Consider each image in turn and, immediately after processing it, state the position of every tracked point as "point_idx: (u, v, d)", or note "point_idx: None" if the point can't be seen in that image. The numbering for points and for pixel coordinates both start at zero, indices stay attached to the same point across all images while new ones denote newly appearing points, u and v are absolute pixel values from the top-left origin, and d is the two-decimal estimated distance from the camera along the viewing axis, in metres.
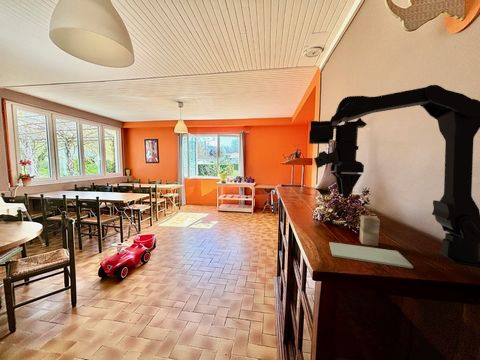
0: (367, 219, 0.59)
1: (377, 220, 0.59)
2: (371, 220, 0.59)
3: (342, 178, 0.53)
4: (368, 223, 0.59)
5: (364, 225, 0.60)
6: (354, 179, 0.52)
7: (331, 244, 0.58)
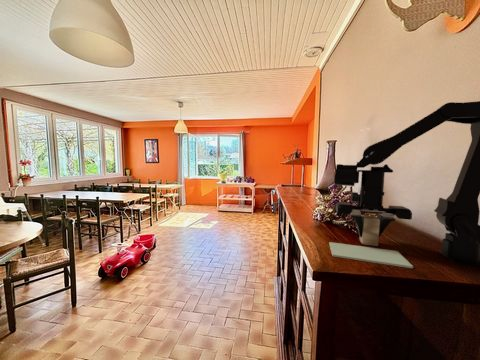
0: (367, 219, 0.59)
1: (377, 220, 0.59)
2: (371, 220, 0.59)
3: None
4: (368, 223, 0.59)
5: (364, 225, 0.60)
6: (356, 219, 0.61)
7: (331, 244, 0.58)
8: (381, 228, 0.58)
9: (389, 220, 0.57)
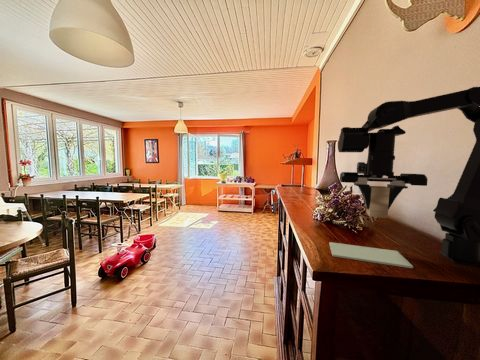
0: (375, 188, 0.53)
1: (386, 188, 0.52)
2: (380, 189, 0.53)
3: (360, 188, 0.57)
4: (376, 192, 0.53)
5: (372, 195, 0.53)
6: None
7: (331, 244, 0.58)
8: (391, 197, 0.52)
9: (400, 187, 0.50)
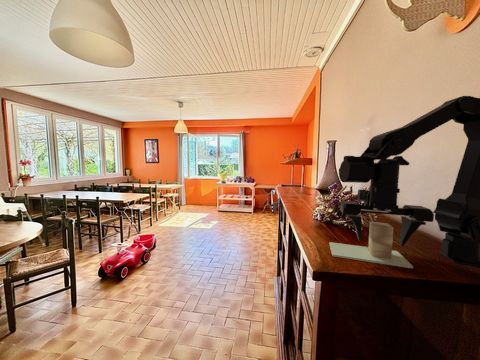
0: (378, 227, 0.50)
1: (390, 228, 0.49)
2: (383, 228, 0.50)
3: (351, 218, 0.55)
4: (379, 231, 0.50)
5: (374, 234, 0.50)
6: (354, 220, 0.52)
7: (331, 244, 0.58)
8: (407, 233, 0.48)
9: (418, 224, 0.46)
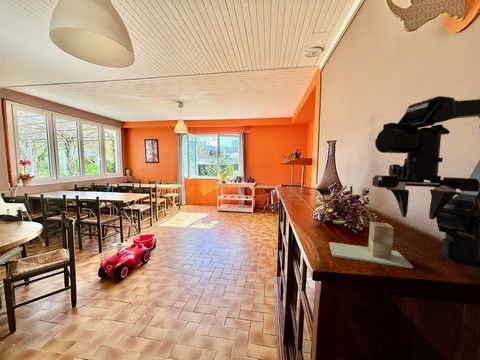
0: (378, 227, 0.50)
1: (390, 228, 0.49)
2: (383, 228, 0.50)
3: (394, 193, 0.51)
4: (379, 231, 0.50)
5: (374, 234, 0.50)
6: (399, 195, 0.48)
7: (331, 244, 0.58)
8: (439, 205, 0.46)
9: (452, 194, 0.44)
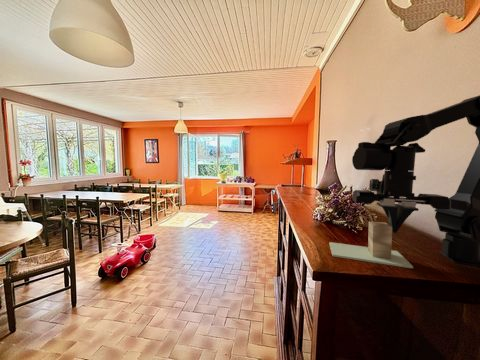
0: (377, 226, 0.50)
1: (389, 227, 0.49)
2: (382, 228, 0.50)
3: (384, 209, 0.52)
4: (378, 231, 0.50)
5: (373, 234, 0.50)
6: (388, 211, 0.49)
7: (331, 244, 0.58)
8: (400, 220, 0.48)
9: (411, 210, 0.47)
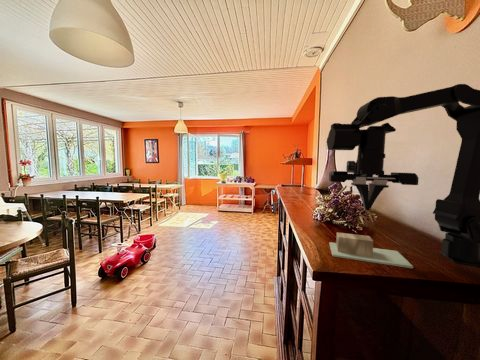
0: (339, 248, 0.53)
1: (339, 239, 0.53)
2: (340, 244, 0.53)
3: (358, 188, 0.54)
4: (344, 247, 0.53)
5: (347, 251, 0.53)
6: (361, 189, 0.51)
7: (331, 244, 0.58)
8: (372, 197, 0.50)
9: (381, 186, 0.49)
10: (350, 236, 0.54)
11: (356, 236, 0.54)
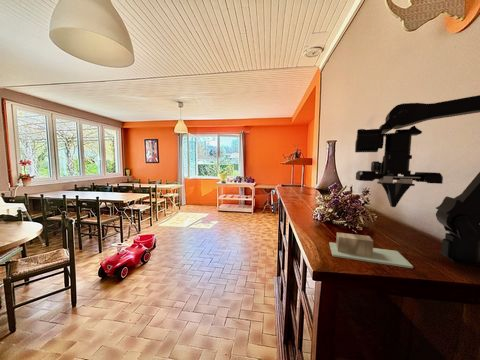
0: (339, 248, 0.53)
1: (339, 239, 0.53)
2: (340, 244, 0.53)
3: (384, 186, 0.59)
4: (344, 247, 0.53)
5: (347, 251, 0.53)
6: (388, 187, 0.56)
7: (331, 244, 0.58)
8: (399, 194, 0.55)
9: (408, 185, 0.53)
10: (350, 236, 0.54)
11: (356, 236, 0.54)
